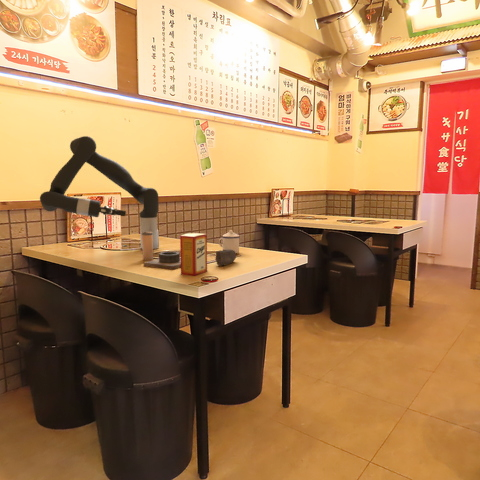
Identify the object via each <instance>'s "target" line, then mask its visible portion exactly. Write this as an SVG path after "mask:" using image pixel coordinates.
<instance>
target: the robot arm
mask: <svg viewBox="0 0 480 480" xmlns="http://www.w3.org/2000/svg"><path fill="white" fill-rule="evenodd" d="M69 149H70V151H71V153H72V154H73V155H72V156H71V157H70V159H69V160H68V161H67V162H66V163H65V164H64V165H63V166H62V167H61V168H60V170H58V172H57V173H56V175H55V176H54V178H53V179H52V181H51V182H50V188H49V190H47V191H44V192H42V193H41V194H40V196H39V201H40V204H41V207H42V208H43V209H44V210H45V211H46V212H54V211H56V210H57V209H62V210H63V211H65V212H66V213H70V214H78V215H81V216H88V217H92V218H98V217H99V216H100V214H103V215H105V216H121V217H126V214H127V211H126V210H121V209H118V208H115V207H112V206H108V205H104V207H103V206H101V205H102V202H101V201H100V200H95V199H90V198H80V197H74V196H73V197H72V196H68V195H66V192H67V191H68V189H69V187H70V186H71V184H72V182H73V181H74V180H75V177H76V176H77V175H78V173H79V172H80V170H81V169H82V167H83V166H84V165H85V164H88V165H90V166H91V167H93V169H95V170H96V171H98V172H99V173H100V174H102V175H103V176H105V177H106V178H107V179H108V180H110V181H111V182H113V183H114V184H115V185H117V186H118V187H119V188H121V189H123V190H125V192H128V193H129V195H131V196H132V197H133V198H134V199H135V201H137V202H138V204H139V203H140V204H141V205H143V209H142V210H141V211H140V212H139V227H140V249H142V250H143V246H142V232H153V250H155V249H159V247H160V238H159V236H160V235H159V233H160V232H159V230H158V213H159V202H160V201H159V193H158V191H157V190H156V188H153V187H144V186H143V185H141V184H139V183H138V182H137V181H136V180H135V179H134V178H133V176H132V175H131V174H130V173H131V172H129V170H128V169H126V168H125V167H124V166H123V165H121V164H120V163H118V161H115V160H113V159H111V158H108V157H106V156H104V155H102V154H100V153H98V152H97V151H96V150H97V142H96V141H95V140H94V139H93V138H92V137H90V136H88V135H84V136H80V137H77V138H74V139H73V140H71V141H70V145H69Z"/></svg>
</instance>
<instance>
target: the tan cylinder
mask: <svg viewBox="0 0 480 480" xmlns="http://www.w3.org/2000/svg"><path fill="white" fill-rule="evenodd" d="M142 246H143V249H142V261H151V260H154V249H153V232H142Z"/></svg>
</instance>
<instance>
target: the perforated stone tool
mask: <svg viewBox="0 0 480 480" xmlns="http://www.w3.org/2000/svg"><path fill="white" fill-rule="evenodd" d="M236 258H237V254H236V252H235V251H234V250H230V249H226V250H223V249H221V250H217V251H216V252H215V258H214V259H215V262H216V265H217V266H220V267H221V266H226V265H230V264H233V263H234V261H236Z"/></svg>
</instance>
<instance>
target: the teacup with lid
mask: <svg viewBox="0 0 480 480" xmlns="http://www.w3.org/2000/svg"><path fill="white" fill-rule="evenodd" d="M221 241H222V242H221ZM218 245H219V247H221V248H222V250H226V249H230V250H234V251H235V252H236V253H237V254H239V253H240V235H239V234H238V233H236V232H233V230H232V229H230V230H228V232H227V233H225V234H223V235H222V236H221V237H220V238H219V240H218Z"/></svg>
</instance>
